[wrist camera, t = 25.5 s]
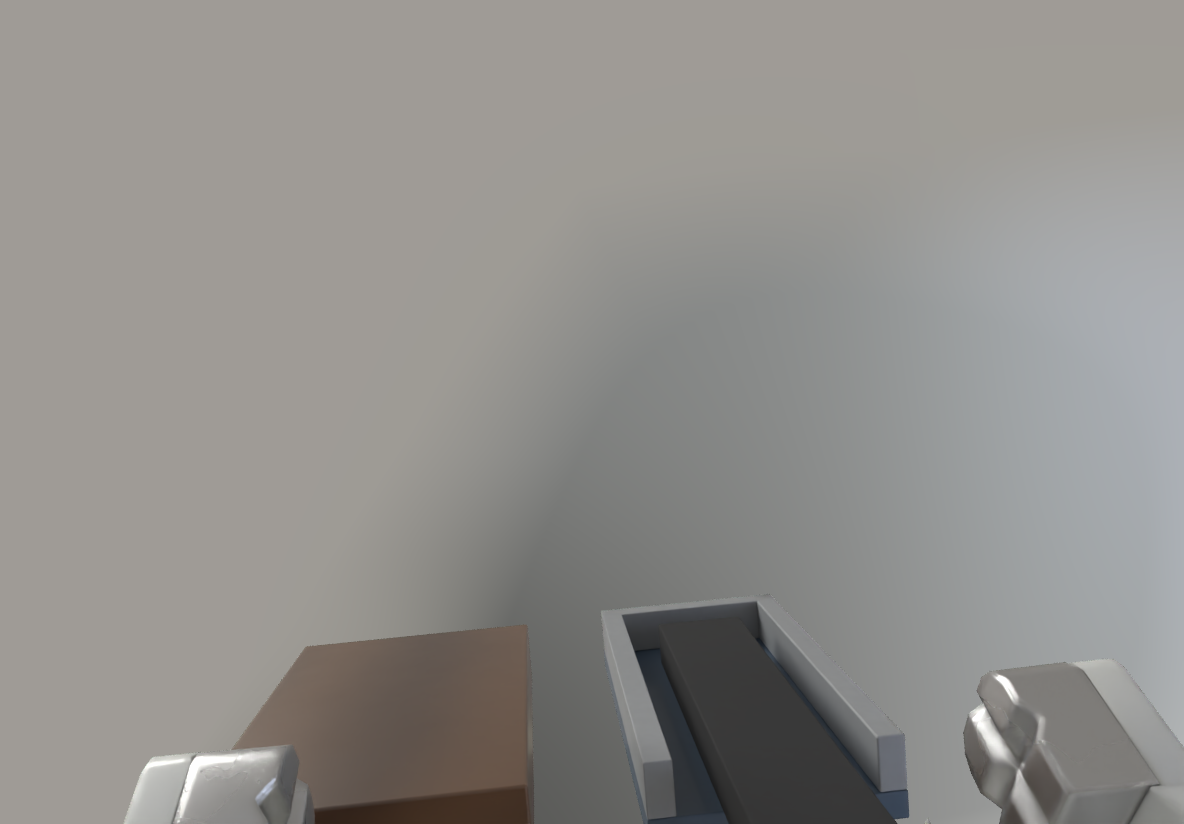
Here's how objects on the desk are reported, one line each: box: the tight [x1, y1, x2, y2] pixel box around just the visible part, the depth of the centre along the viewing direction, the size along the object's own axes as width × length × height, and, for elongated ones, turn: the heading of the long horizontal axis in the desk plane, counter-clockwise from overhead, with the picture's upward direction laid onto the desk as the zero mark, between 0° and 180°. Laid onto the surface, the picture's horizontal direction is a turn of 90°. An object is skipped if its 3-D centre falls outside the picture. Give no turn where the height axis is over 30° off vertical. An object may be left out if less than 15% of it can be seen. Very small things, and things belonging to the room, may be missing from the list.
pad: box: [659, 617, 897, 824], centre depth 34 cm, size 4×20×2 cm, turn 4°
